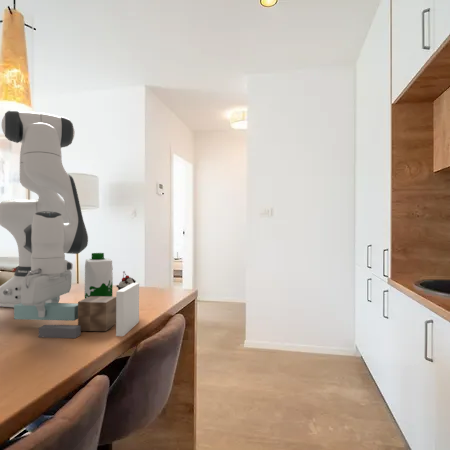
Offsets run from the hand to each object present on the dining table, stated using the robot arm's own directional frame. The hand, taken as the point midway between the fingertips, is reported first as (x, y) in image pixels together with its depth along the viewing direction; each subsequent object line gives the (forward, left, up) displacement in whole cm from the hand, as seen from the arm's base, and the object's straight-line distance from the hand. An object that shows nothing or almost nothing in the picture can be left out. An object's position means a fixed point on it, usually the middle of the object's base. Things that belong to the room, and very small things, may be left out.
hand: (48, 314), depth 103 cm
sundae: (+19, +13, -4) cm, 23 cm away
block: (+15, 0, -4) cm, 15 cm away
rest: (+8, -8, -4) cm, 12 cm away
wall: (+24, 0, -4) cm, 24 cm away
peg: (0, 0, -1) cm, 1 cm away
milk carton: (+8, +17, -4) cm, 19 cm away
